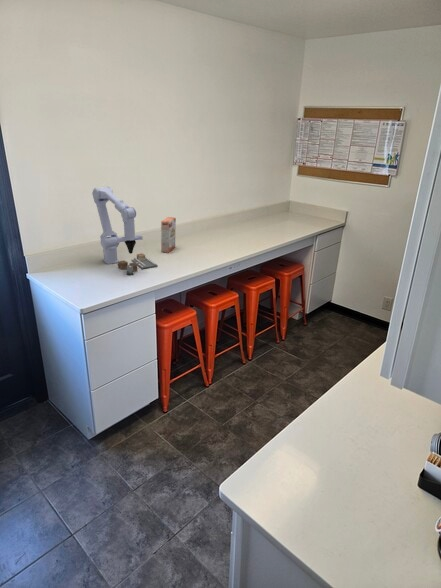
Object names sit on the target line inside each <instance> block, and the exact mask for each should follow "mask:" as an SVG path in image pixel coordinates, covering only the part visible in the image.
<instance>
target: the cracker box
mask: <svg viewBox="0 0 441 588" xmlns="http://www.w3.org/2000/svg"><path fill="white" fill-rule="evenodd" d="M160 223H161V224H160V226H161V227H160V228H161V229H160V232H161V234H160V236H161V237H160V239H161V240H160V242H161V243H160V244H161V245H160V246H161V251H160V252H161V253H165V254H166V253H170V252H171V251H173V250H174V249H175V248H176V229H177V228H176V224H177V223H176V217H173V216H168V217H167V216H166V218H165V219H163V220H161V222H160Z"/></svg>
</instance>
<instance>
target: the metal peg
mask: <svg viewBox="0 0 441 588" xmlns="http://www.w3.org/2000/svg"><path fill="white" fill-rule="evenodd" d="M126 276H134V272H133V265H129V264H128V265H127V269H126Z"/></svg>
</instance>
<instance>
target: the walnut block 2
mask: <svg viewBox="0 0 441 588" xmlns="http://www.w3.org/2000/svg"><path fill="white" fill-rule="evenodd" d="M128 263H129V264H128V265H133V273H134V272H138V266H137V263H133V262H128Z"/></svg>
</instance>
